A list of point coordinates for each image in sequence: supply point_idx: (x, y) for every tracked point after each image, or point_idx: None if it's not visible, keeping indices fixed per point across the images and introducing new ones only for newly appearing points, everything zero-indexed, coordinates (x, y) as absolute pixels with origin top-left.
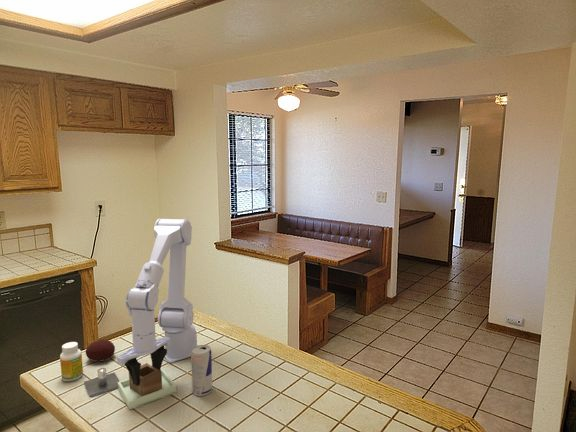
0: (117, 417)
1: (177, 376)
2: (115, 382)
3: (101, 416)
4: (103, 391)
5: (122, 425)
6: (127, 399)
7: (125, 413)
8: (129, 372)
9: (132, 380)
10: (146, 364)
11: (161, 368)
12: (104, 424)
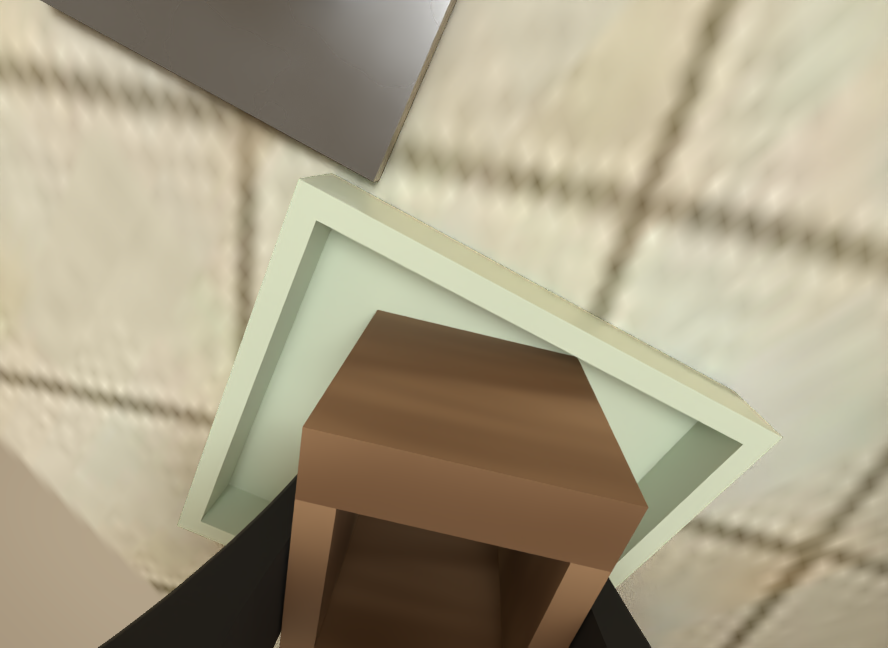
0: (122, 461)
1: (728, 518)
2: (370, 52)
3: (43, 363)
4: (184, 75)
5: (111, 529)
6: (188, 494)
7: (179, 477)
8: (175, 596)
9: (280, 494)
10: (602, 531)
11: (767, 441)
12: (31, 440)
